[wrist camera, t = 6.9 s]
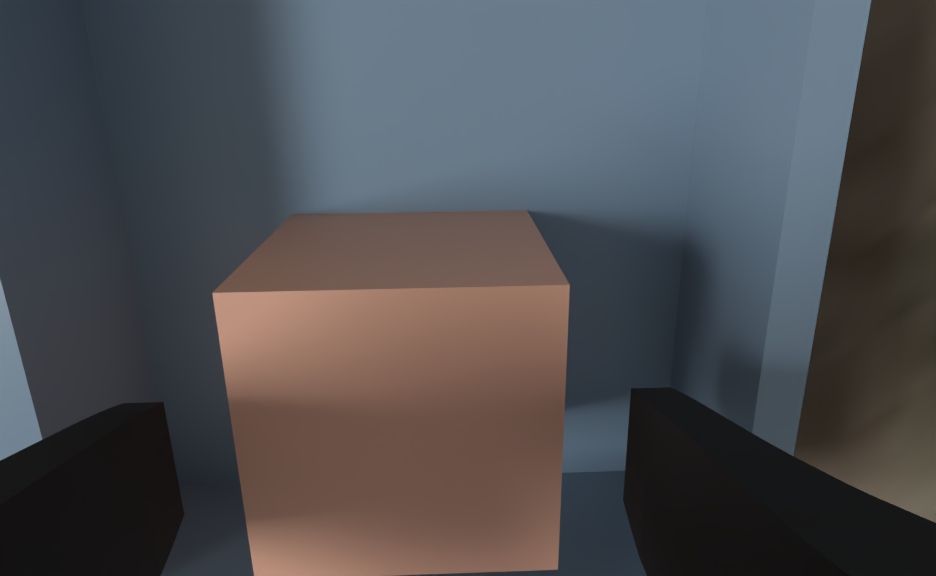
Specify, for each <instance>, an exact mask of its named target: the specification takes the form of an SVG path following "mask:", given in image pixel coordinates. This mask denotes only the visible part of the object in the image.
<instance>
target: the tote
mask: <svg viewBox="0 0 936 576" xmlns="http://www.w3.org/2000/svg"><path fill="white" fill-rule="evenodd" d="M870 5H871V0H0V461H1V460H3V459H5V458H7V457H9V456H11V455H13V454H15V453H17V452H19V451H21V450H23V449H25V448H27V447H29V446H31V445H33V444H35V443H37V442H39V441H41V440H43V439H45V438H47V437H49V436H51V435H53V434H55V433H57V432H59V431H61V430H63V429H65V428H67V427H69V426H71V425H73V424H75V423H77V422H79V421H81V420H84V419H86V418H88V417H90V416H92V415H94V414H97V413H99V412H101V411H104V410H106V409H109V408H111V407H114V406H117V405H120V404H123V403H149V402H164V408H165V413H166V418H167V424H168V429H169V434H170V440H171V445H172V451H173V456H174V461H175V467H176V472H177V478H178V483H179V488H180V494H181V499H182V505H183V510H184V517H183V520H182V522H181V525H180V528H179V530H178V533H177V536H176V539H175V541H174V544H173V547H172V549H171V552H170V554H169V557H168V559H167V561H166V564H165V566H164V569H163V571H162V574H161V576H254V572H253V566H252V559H251V552H250V545H249V539H248V532H247V525H246V518H245V511H244V505H243V498H242V491H241V484H240V477H239V471H238V464H237V457H236V450H235V444H234V437H233V430H232V423H231V416H230V410H229V403H228V396H227V389H226V383H225V376H224V369H223V362H222V355H221V349H220V342H219V335H218V328H217V321H216V315H215V308H214V301H213V294H212V293H213V292H214V291H215V290H216V289H217V288H218V287H219V286H220V285H221V284H222V283H223V282H224V281H225V280H226V279H227V278H228V277H229V276H230V275H231V274H232V273H233V272H234V271H235V270H236V269H237V268H238V267H239V266H240V265H241V264H242V263H243V262H244V261H245V260H246V259H247V258H248V257H249V256H250V255H251V254H252V253H253V252H254V251H255V250H256V249H257V248H258V247H259V246H260V245H261V244H262V243H264V242H265V241H266V240H267V239H268V238H269V237H270V236H271V235H272V234H273V233H274V232H275V231H276V230H277V229H278V228H279V227H280V226H281V225H282V224H283V223H284V222H285V221H286V220H287V219H288V218H289V217H290V216H291V215H302V214H356V213H409V212H463V211H516V210H527V211H528V213H529V215H530V216H531V218H532V220H533V222H534V223H535V225H536V227H537V229H538V230H539V232H540V234H541V236H542V237H543V239H544V241H545V243H546V244H547V246H548V248H549V249H550V251H551V253H552V255H553V256H554V258H555V260H556V262H557V263H558V265H559V267H560V269H561V270H562V272H563V274H564V276H565V277H566V279H567V281H568V283H569V284H570V292H569V316H568V340H567V364H566V388H565V412H564V436H563V460H562V484H561V508H560V532H559V557H558V570H535V571H506V572H478V573H449V574H421V575H392V576H647V575H646V572H645V570H644V568H643V565H642V563H641V560H640V558H639V555H638V551H637V548H636V545H635V541H634V538H633V534H632V531H631V527H630V524H629V520H628V516H627V513H626V509H625V505H624V502H623V493H624V479H625V465H626V451H627V437H628V423H629V409H630V395H631V388H660V387H671V388H673V389H675V390H677V391H680V392H682V393H684V394H685V395H687V396H689V397H691V398H693V399H695V400H696V401H698V402H700V403H702V404H703V405H705V406H707V407H708V408H710V409H712V410H714V411H715V412H717V413H719V414H720V415H722V416H724V417H725V418H727V419H729V420H731V421H732V422H734V423H736V424H737V425H739V426H741V427H742V428H744V429H746V430H748V431H749V432H751V433H753V434H754V435H756V436H758V437H760V438H761V439H763V440H765V441H767V442H768V443H770V444H772V445H774V446H776V447H777V448H779V449H781V450H783V451H785V452H786V453H788V454H790V455H792V456H794V450H795V444H796V438H797V433H798V427H799V421H800V415H801V409H802V403H803V397H804V392H805V386H806V380H807V374H808V368H809V362H810V356H811V351H812V345H813V339H814V333H815V327H816V321H817V315H818V310H819V304H820V298H821V292H822V286H823V280H824V274H825V269H826V263H827V257H828V251H829V245H830V239H831V233H832V228H833V222H834V216H835V210H836V204H837V198H838V192H839V187H840V181H841V175H842V169H843V163H844V157H845V151H846V146H847V140H848V134H849V128H850V122H851V116H852V110H853V105H854V99H855V93H856V87H857V81H858V75H859V69H860V64H861V58H862V52H863V46H864V40H865V34H866V28H867V23H868V17H869V11H870Z"/></svg>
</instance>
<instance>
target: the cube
mask: <svg viewBox="0 0 936 576" xmlns="http://www.w3.org/2000/svg"><path fill="white" fill-rule="evenodd" d="M569 292H570V284H569V283H568V281H567V279H566V277H565V276H564V274H563V272H562V270H561V269H560V267H559V265H558V263H557V262H556V260H555V258H554V256H553V255H552V253H551V251H550V249H549V248H548V246H547V244H546V243H545V241H544V239H543V237H542V236H541V234H540V232H539V230H538V229H537V227H536V225H535V223H534V222H533V220H532V218H531V216H530V215H529V213H528V211H527V210H516V211H463V212H409V213H356V214H302V215H291V216H290V217H289V218H288V219H287V220H286V221H285V222H284V223H283V224H282V225H281V226H280V227H279V228H278V229H277V230H276V231H275V232H274V233H273V234H272V235H271V236H270V237H269V238H268V239H267V240H266V241H265V242H264V243H262V244H261V245H260V246H259V247H258V248H257V249H256V250H255V251H254V252H253V253H252V254H251V255H250V256H249V257H248V258H247V259H246V260H245V261H244V262H243V263H242V264H241V265H240V266H239V267H238V268H237V269H236V270H235V271H234V272H233V273H232V274H231V275H230V276H229V277H228V278H227V279H226V280H225V281H224V282H223V283H222V284H221V285H220V286H219V287H218V288H217V289H216V290H215V291H214V292H213V293H212V294H213V301H214V308H215V315H216V321H217V328H218V335H219V342H220V349H221V355H222V362H223V369H224V376H225V383H226V389H227V396H228V403H229V410H230V416H231V423H232V430H233V437H234V444H235V450H236V457H237V464H238V471H239V477H240V484H241V491H242V498H243V505H244V511H245V518H246V525H247V532H248V539H249V545H250V552H251V559H252V566H253V572H254V576H392V575H421V574H449V573H478V572H506V571H535V570H558V557H559V532H560V508H561V484H562V460H563V436H564V412H565V388H566V364H567V340H568V316H569Z"/></svg>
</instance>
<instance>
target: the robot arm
mask: <svg viewBox="0 0 936 576" xmlns="http://www.w3.org/2000/svg"><path fill="white" fill-rule="evenodd" d="M623 502H624V505H625V509H626V513H627V516H628V520H629V524H630V527H631V531H632V534H633V538H634V541H635V545H636V548H637V551H638V555H639V558H640V560H641V563H642V565H643V568H644V570H645V572H646V575H647V576H936V523H935V522H932V521H930V520H927V519H925V518H923V517H920V516H918V515H916V514H913V513H911V512H909V511H906V510H904V509H902V508H899V507H897V506H895V505H892V504H890V503H888V502H885V501H883V500H881V499H878V498H876V497H874V496H872V495H869V494H867V493H865V492H863V491H861V490H859V489H857V488H855V487H852V486H850V485H848V484H846V483H844V482H842V481H840V480H838V479H836V478H834V477H832V476H830V475H828V474H826V473H824V472H823V471H821V470H819V469H817V468H815V467H813V466H811V465H809V464H807V463H805V462H803V461H801V460H799V459H797V458H796V457H794V456H792V455H790V454H788V453H786V452H785V451H783V450H781V449H779V448H777V447H776V446H774V445H772V444H770V443H768V442H767V441H765V440H763V439H761V438H760V437H758V436H756V435H754V434H753V433H751V432H749V431H748V430H746V429H744V428H742V427H741V426H739V425H737V424H736V423H734V422H732V421H731V420H729V419H727V418H725V417H724V416H722V415H720V414H719V413H717V412H715V411H714V410H712V409H710V408H708V407H707V406H705V405H703V404H702V403H700V402H698V401H696V400H695V399H693V398H691V397H689V396H687V395H685V394H684V393H682V392H680V391H677V390H675V389H673V388H671V387H660V388H631V395H630V409H629V423H628V437H627V451H626V465H625V479H624V493H623ZM183 517H184V510H183V505H182V499H181V494H180V488H179V483H178V478H177V472H176V467H175V461H174V456H173V451H172V445H171V440H170V434H169V429H168V424H167V418H166V413H165V408H164V402H149V403H123V404H120V405H117V406H114V407H111V408H109V409H106V410H104V411H101V412H99V413H97V414H94V415H92V416H90V417H88V418H86V419H84V420H81V421H79V422H77V423H75V424H73V425H71V426H69V427H67V428H65V429H63V430H61V431H59V432H57V433H55V434H53V435H51V436H49V437H47V438H45V439H43V440H41V441H39V442H37V443H35V444H33V445H31V446H29V447H27V448H25V449H23V450H21V451H19V452H17V453H15V454H13V455H11V456H9V457H7V458H5V459H3V460H1V461H0V576H161V574H162V571H163V569H164V566H165V564H166V561H167V559H168V557H169V554H170V552H171V549H172V547H173V544H174V541H175V539H176V536H177V533H178V530H179V528H180V525H181V522H182V520H183Z"/></svg>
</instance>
